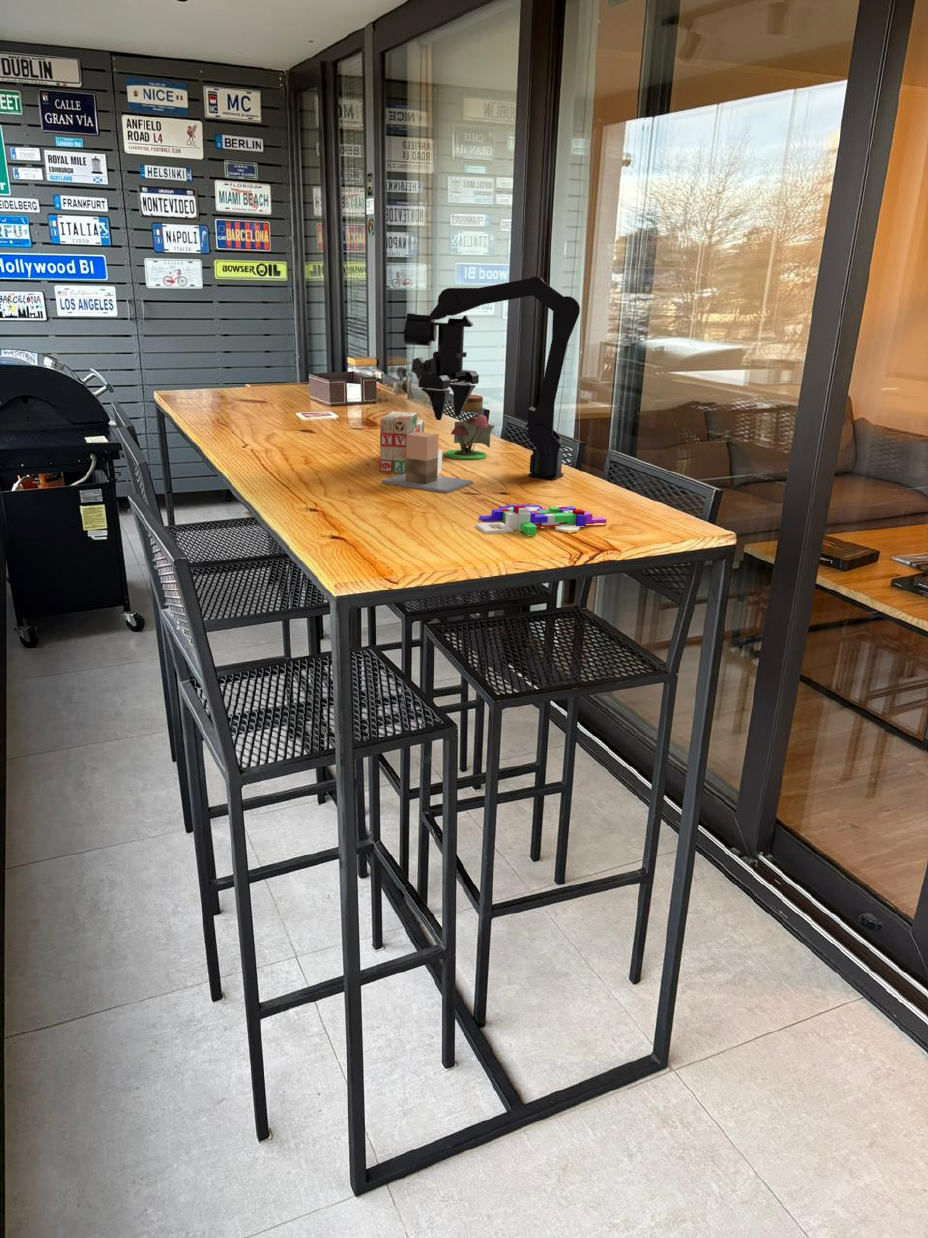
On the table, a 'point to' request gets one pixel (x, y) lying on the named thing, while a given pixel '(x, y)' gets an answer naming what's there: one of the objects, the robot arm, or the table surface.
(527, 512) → the building block set
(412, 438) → the terracotta brick
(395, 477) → the plate
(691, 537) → the table surface
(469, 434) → the plant figurine
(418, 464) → the walnut brick
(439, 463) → the offwhite brick
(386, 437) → the stack of blocks
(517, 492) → the table surface
